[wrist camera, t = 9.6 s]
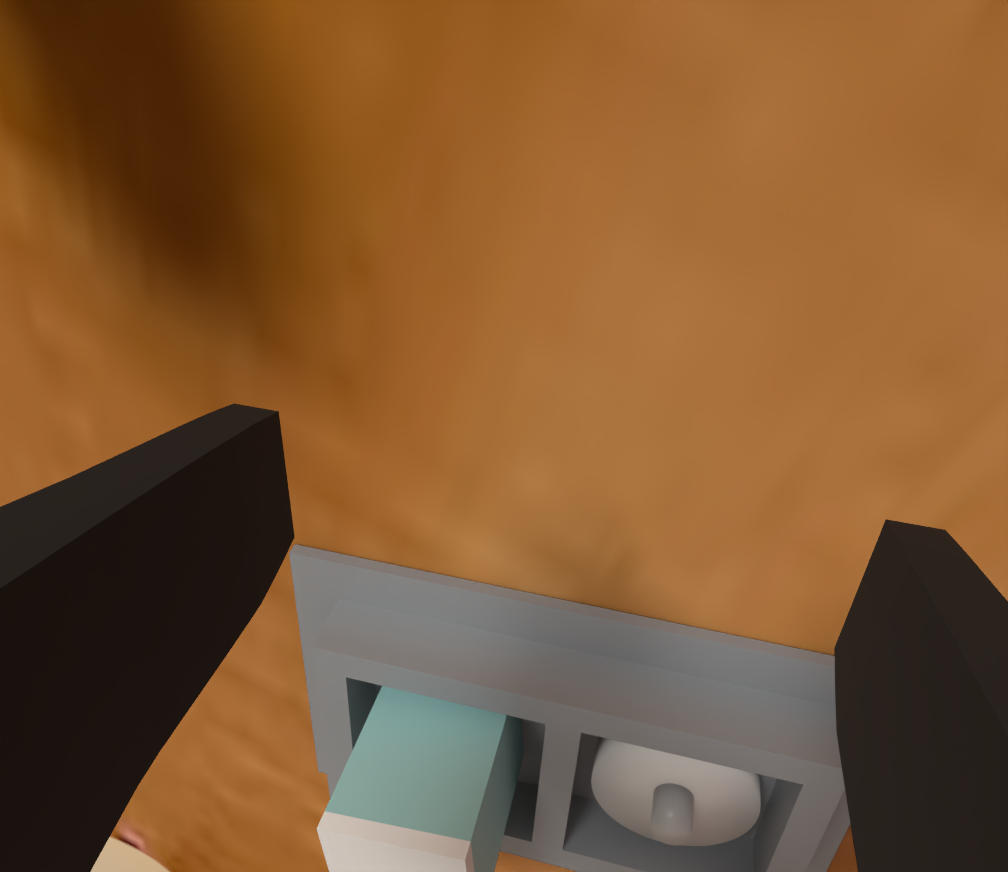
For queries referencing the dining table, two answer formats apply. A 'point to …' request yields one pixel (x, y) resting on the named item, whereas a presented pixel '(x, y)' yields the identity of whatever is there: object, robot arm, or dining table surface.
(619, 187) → the dining table surface
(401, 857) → the teal and white block
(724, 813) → the housing
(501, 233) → the dining table surface
